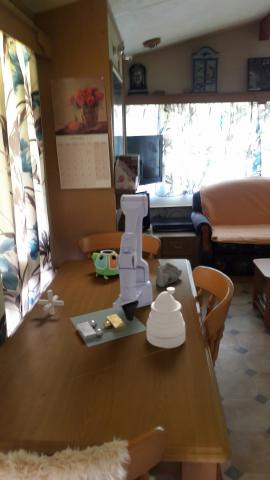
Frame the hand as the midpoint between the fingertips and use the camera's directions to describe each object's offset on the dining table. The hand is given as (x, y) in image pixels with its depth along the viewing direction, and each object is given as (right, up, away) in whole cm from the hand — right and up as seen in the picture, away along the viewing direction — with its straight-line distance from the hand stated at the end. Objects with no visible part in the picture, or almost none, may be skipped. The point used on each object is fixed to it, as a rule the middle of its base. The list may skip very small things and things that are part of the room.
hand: (129, 319), depth 130 cm
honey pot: (+12, -4, -10) cm, 16 cm away
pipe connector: (-30, 0, +9) cm, 32 cm away
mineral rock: (+18, +9, +34) cm, 40 cm away
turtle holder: (-12, +12, +48) cm, 51 cm away
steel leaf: (-14, -3, -6) cm, 15 cm away
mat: (-8, -2, 0) cm, 8 cm away
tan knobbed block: (-6, -2, -2) cm, 7 cm away
